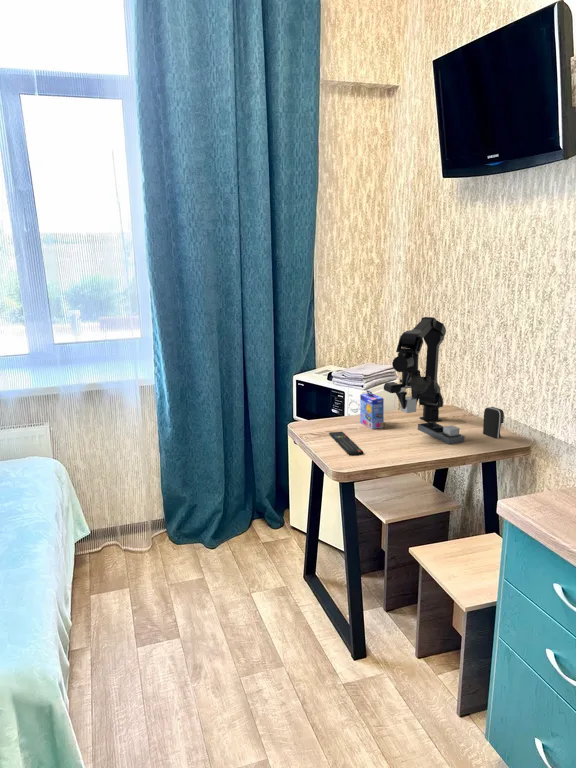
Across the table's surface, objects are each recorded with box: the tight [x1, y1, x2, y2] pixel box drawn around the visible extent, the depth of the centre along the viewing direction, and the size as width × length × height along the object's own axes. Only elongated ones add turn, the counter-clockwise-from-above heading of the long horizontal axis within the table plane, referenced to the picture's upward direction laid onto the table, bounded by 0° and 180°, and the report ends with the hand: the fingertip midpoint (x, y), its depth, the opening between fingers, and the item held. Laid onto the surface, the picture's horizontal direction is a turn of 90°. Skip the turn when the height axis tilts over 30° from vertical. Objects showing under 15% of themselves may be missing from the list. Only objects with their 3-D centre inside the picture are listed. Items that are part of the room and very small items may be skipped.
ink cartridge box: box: [359, 389, 385, 430], centre depth 229 cm, size 10×6×14 cm, turn 23°
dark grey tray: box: [417, 421, 466, 446], centre depth 215 cm, size 19×7×3 cm, turn 22°
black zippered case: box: [482, 406, 505, 439], centre depth 213 cm, size 7×4×11 cm, turn 29°
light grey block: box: [443, 424, 460, 438], centre depth 209 cm, size 4×4×5 cm
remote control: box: [328, 431, 364, 457], centre depth 209 cm, size 5×24×1 cm, turn 13°
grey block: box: [400, 395, 418, 414], centre depth 213 cm, size 4×4×5 cm
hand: (408, 408), depth 214 cm, fingers closed on grey block, 4 cm apart
